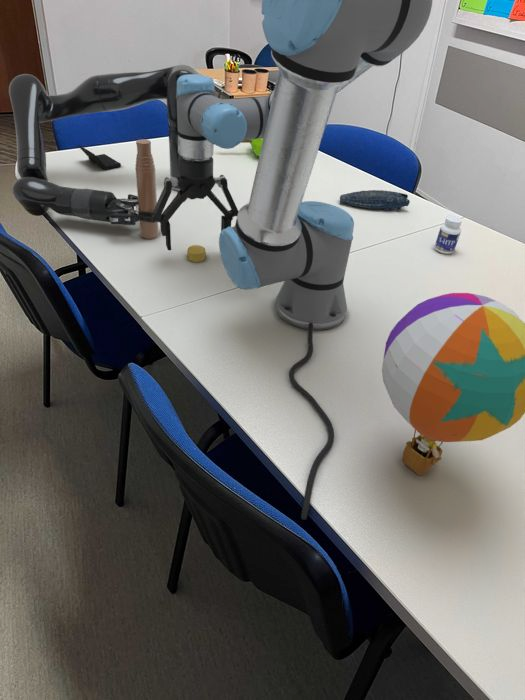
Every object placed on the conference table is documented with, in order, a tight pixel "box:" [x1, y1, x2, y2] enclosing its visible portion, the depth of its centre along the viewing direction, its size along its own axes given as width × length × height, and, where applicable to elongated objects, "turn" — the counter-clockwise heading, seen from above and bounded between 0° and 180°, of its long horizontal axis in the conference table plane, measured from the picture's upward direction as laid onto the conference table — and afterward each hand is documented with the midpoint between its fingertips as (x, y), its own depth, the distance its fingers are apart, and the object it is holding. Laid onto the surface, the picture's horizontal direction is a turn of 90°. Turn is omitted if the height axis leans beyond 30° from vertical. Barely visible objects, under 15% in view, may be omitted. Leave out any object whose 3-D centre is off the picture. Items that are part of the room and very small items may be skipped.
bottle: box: [134, 138, 160, 240], centre depth 127 cm, size 5×5×24 cm
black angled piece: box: [77, 144, 122, 170], centre depth 169 cm, size 12×7×10 cm
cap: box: [186, 244, 207, 263], centre depth 126 cm, size 4×4×2 cm
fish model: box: [339, 189, 411, 211], centre depth 158 cm, size 7×21×5 cm, turn 84°
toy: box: [381, 292, 525, 477], centre depth 72 cm, size 20×20×30 cm
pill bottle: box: [434, 215, 463, 255], centre depth 137 cm, size 5×5×9 cm
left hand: (158, 214), depth 131 cm, fingers closed on bottle, 4 cm apart
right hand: (196, 245), depth 125 cm, fingers open, 13 cm apart
